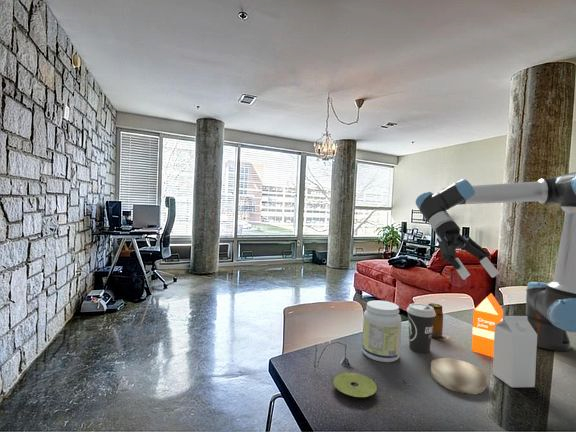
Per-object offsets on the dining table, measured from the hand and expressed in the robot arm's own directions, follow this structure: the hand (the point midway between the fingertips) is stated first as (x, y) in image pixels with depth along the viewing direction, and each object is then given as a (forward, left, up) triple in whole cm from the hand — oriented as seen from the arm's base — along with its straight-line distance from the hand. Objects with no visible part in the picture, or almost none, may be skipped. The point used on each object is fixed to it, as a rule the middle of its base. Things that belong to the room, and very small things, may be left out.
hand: (481, 276), depth 98 cm
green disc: (+33, +33, -28) cm, 55 cm away
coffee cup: (+17, -3, -28) cm, 33 cm away
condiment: (+11, -19, -29) cm, 36 cm away
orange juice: (-5, -13, -28) cm, 32 cm away
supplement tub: (+29, +8, -28) cm, 42 cm away
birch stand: (+7, +14, -28) cm, 33 cm away
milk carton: (-8, +7, -28) cm, 30 cm away
